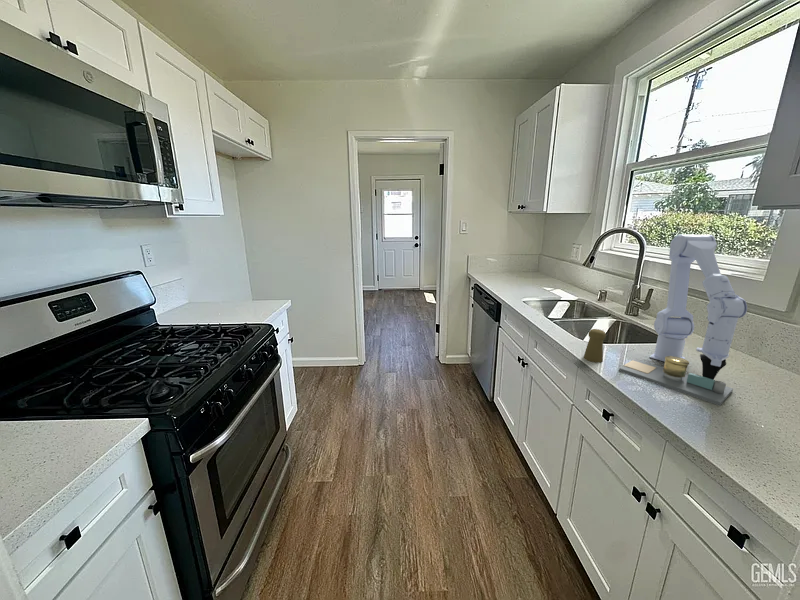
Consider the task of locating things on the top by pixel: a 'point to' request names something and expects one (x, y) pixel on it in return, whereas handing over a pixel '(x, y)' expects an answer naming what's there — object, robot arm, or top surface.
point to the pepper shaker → (595, 346)
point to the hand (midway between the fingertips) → (707, 379)
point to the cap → (675, 366)
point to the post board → (672, 381)
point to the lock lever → (706, 383)
